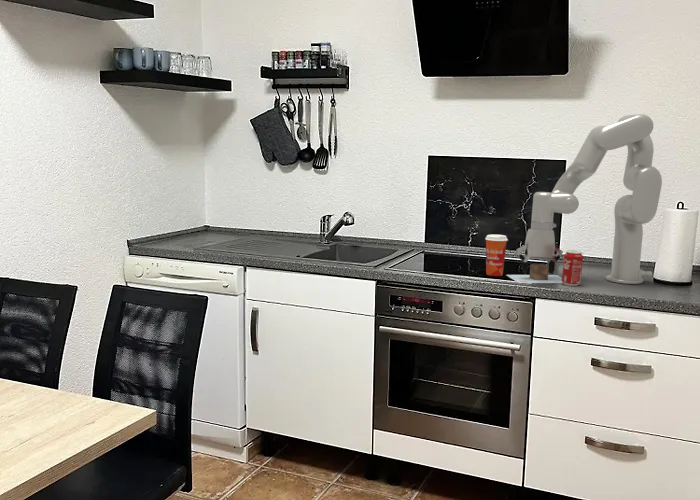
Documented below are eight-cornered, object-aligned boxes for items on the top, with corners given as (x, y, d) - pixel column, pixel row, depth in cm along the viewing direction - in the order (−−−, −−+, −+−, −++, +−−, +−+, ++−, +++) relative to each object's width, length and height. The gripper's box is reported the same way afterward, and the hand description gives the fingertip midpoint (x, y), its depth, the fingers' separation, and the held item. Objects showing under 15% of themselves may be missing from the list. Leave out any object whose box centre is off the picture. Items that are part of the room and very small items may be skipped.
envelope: (556, 275, 263) (556, 275, 263) (573, 283, 248) (573, 283, 248) (505, 275, 261) (505, 274, 261) (519, 283, 246) (519, 282, 246)
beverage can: (565, 281, 250) (568, 248, 247) (582, 284, 246) (586, 251, 243) (558, 284, 245) (561, 251, 243) (576, 288, 241) (579, 254, 239)
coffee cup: (479, 275, 260) (481, 235, 257) (488, 272, 267) (490, 233, 264) (501, 278, 255) (503, 237, 253) (509, 275, 262) (511, 235, 260)
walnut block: (542, 277, 257) (543, 264, 256) (547, 280, 252) (548, 266, 251) (529, 277, 257) (530, 264, 256) (534, 280, 252) (535, 266, 251)
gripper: (560, 225, 256) (556, 271, 259) (515, 224, 254) (511, 270, 257) (568, 228, 249) (564, 275, 251) (522, 226, 247) (518, 274, 249)
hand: (537, 272), depth 254 cm, fingers open, 9 cm apart
